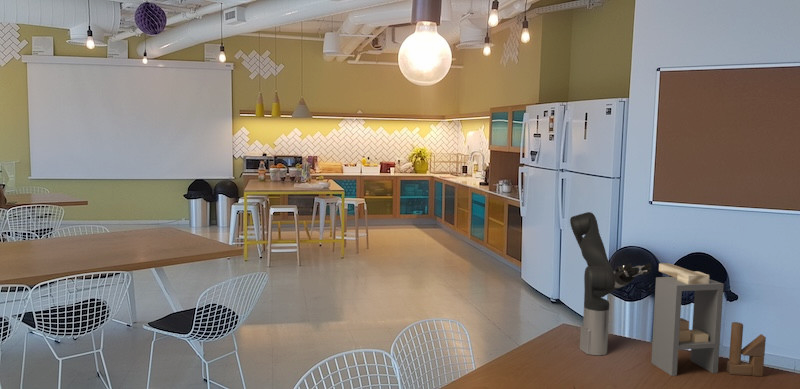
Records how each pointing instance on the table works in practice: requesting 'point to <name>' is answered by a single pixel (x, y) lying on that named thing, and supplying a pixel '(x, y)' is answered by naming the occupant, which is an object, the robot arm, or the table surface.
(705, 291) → the frame
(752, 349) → the wooden block
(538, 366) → the table surface
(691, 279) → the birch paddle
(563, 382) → the table surface
